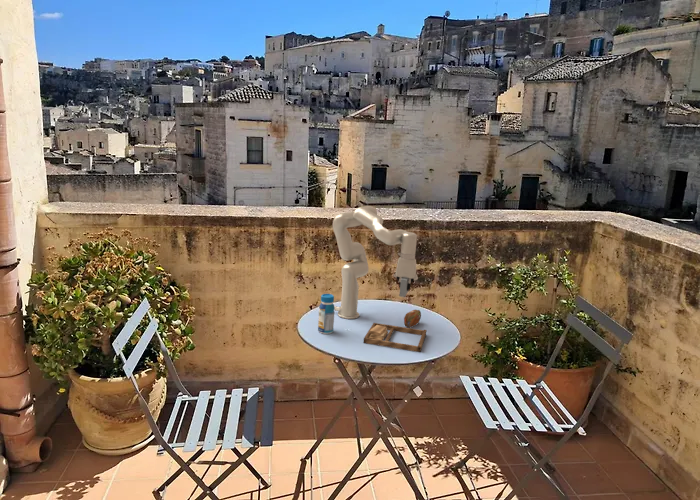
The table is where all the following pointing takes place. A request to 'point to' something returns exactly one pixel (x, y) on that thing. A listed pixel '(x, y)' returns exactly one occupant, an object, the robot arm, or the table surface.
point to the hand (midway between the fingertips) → (404, 289)
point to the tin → (412, 318)
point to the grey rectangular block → (403, 287)
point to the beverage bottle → (326, 314)
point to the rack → (393, 344)
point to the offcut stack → (378, 332)
